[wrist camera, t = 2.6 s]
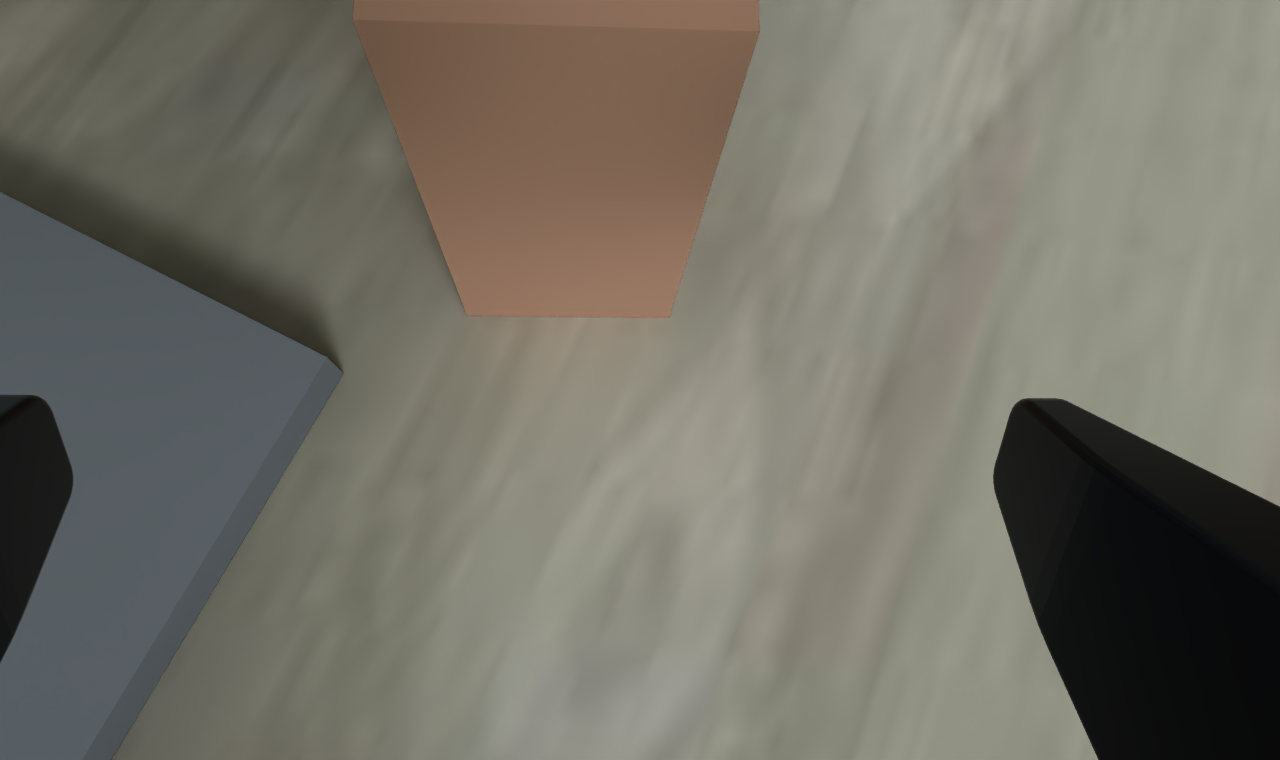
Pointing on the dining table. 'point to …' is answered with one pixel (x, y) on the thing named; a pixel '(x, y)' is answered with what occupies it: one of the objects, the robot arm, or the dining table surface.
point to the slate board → (133, 470)
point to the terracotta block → (562, 139)
